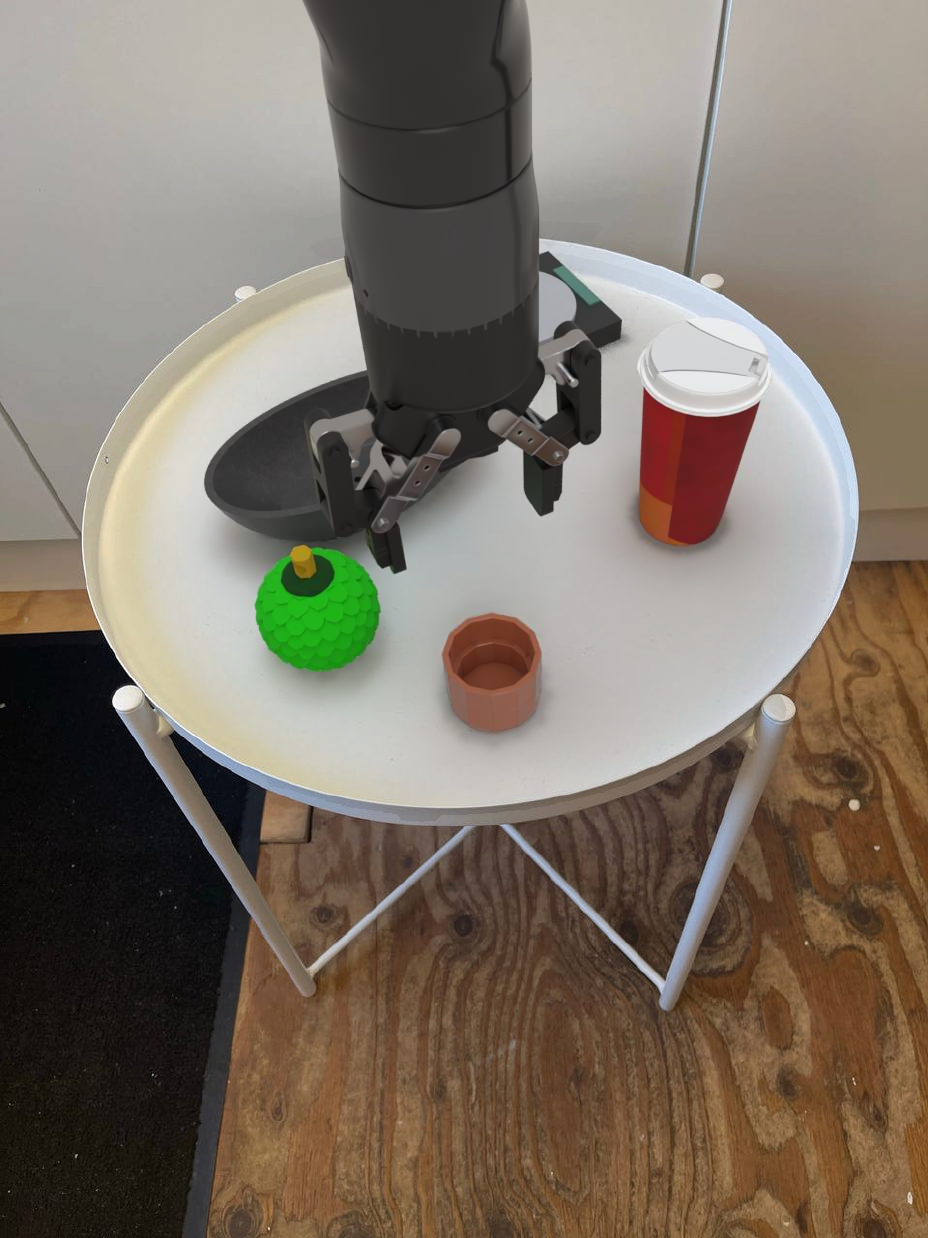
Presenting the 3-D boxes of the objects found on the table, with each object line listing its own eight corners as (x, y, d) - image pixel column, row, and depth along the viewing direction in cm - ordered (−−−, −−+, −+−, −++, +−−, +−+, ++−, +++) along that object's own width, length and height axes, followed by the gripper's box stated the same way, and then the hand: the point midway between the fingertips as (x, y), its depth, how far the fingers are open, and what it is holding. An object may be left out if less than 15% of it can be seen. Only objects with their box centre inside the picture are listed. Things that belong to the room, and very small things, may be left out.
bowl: (522, 484, 75) (521, 424, 70) (261, 607, 69) (240, 552, 64) (445, 395, 81) (439, 335, 76) (201, 502, 76) (177, 444, 71)
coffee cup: (748, 492, 73) (791, 328, 61) (717, 571, 69) (756, 412, 57) (642, 463, 75) (662, 299, 63) (605, 538, 71) (620, 378, 59)
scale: (548, 269, 91) (548, 244, 88) (620, 338, 84) (622, 313, 82) (425, 317, 87) (422, 293, 85) (491, 393, 81) (489, 368, 79)
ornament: (247, 664, 66) (207, 574, 58) (316, 582, 70) (288, 487, 62) (343, 714, 64) (315, 627, 56) (409, 626, 68) (392, 532, 59)
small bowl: (525, 648, 66) (525, 604, 62) (551, 722, 62) (552, 681, 58) (440, 668, 65) (433, 626, 61) (461, 744, 62) (455, 704, 58)
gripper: (307, 378, 35) (369, 634, 48) (649, 260, 38) (620, 532, 51) (245, 269, 39) (318, 532, 52) (558, 170, 42) (553, 443, 55)
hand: (467, 532), depth 51 cm, fingers open, 8 cm apart
